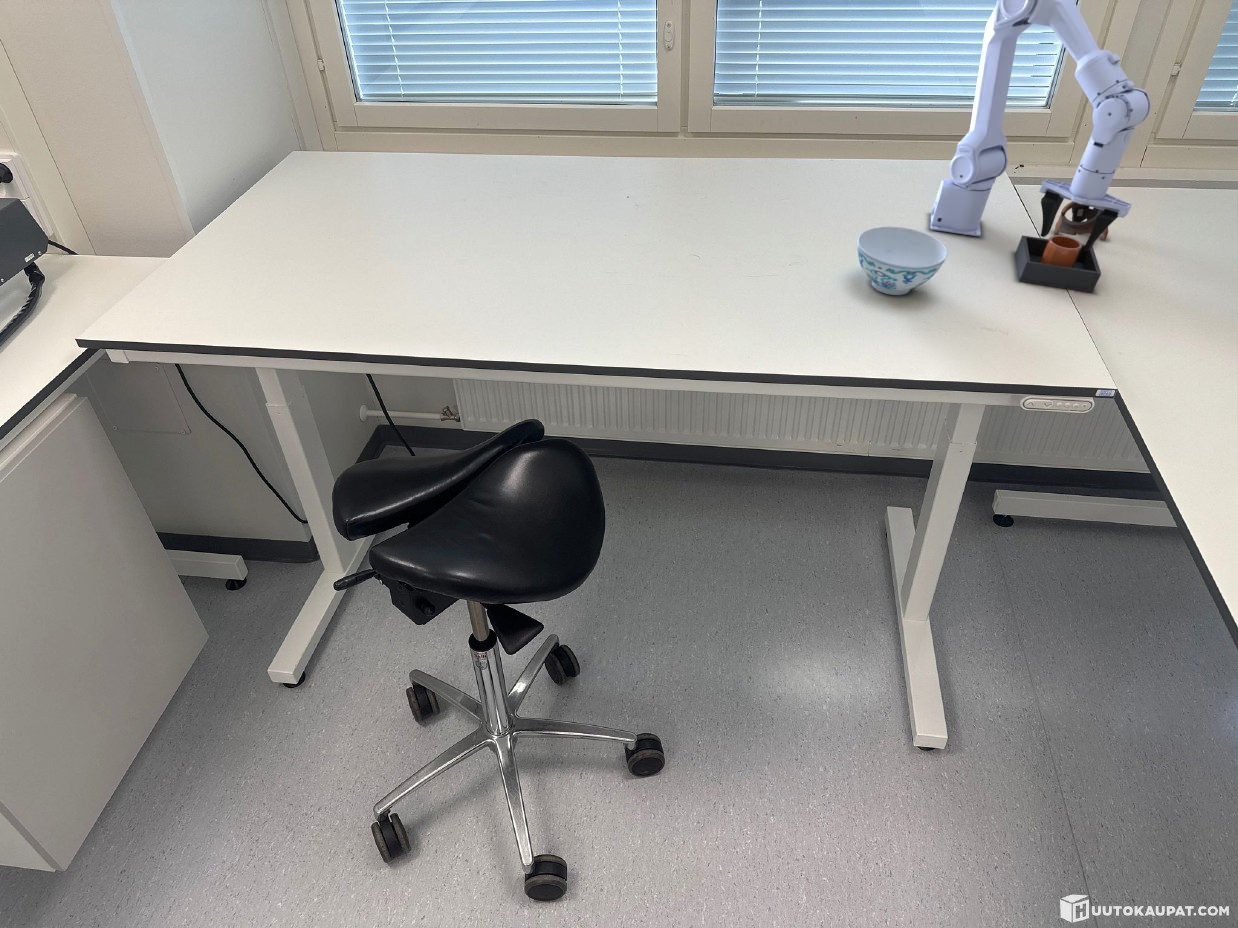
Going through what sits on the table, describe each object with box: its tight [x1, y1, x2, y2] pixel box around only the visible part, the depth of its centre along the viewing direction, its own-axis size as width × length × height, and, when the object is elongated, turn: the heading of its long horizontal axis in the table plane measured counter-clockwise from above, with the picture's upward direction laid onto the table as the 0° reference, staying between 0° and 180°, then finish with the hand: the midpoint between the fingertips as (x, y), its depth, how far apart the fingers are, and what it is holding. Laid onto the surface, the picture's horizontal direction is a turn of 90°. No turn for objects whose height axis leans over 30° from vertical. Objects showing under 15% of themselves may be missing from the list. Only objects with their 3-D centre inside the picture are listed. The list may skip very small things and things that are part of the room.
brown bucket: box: [1039, 234, 1083, 268], centre depth 146 cm, size 6×6×6 cm
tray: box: [1014, 235, 1102, 294], centre depth 147 cm, size 12×11×4 cm
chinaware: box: [856, 226, 948, 296], centre depth 140 cm, size 15×15×8 cm
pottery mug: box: [1054, 201, 1109, 241], centre depth 159 cm, size 12×10×8 cm
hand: (1065, 242), depth 144 cm, fingers open, 7 cm apart
